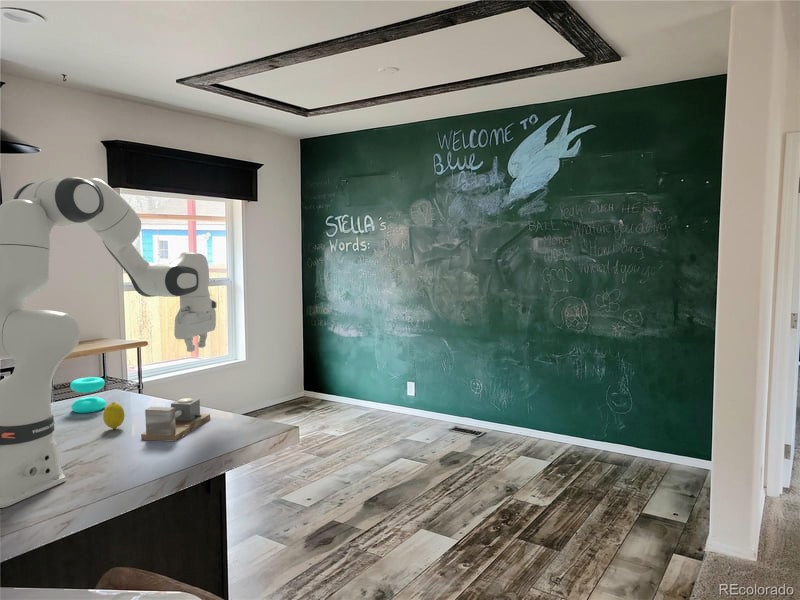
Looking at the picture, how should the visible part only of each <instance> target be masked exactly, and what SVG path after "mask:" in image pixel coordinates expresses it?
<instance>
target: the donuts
mask: <svg viewBox="0 0 800 600" xmlns="http://www.w3.org/2000/svg"><path fill="white" fill-rule="evenodd" d="M105 384H106V382H105V379H104V378H102V377H98V376H97V377H96V376H88V377H81V378H77V379H74V380H73V381H71V382H70V384H69V385H70V390H72V391H73V392H76V393H92V392H97V391H100V390H101V389H102V388H104V387H105ZM70 407H71V410H72V411H73V412H75V413H77V414H78V413H79V414H89V413H94V412H99V411H101V410H103V409H105V408H106V407H107V402H106V400H105V399H104V398H102V397H98V396H88V397H87V396H86V397H81V398H79V399H76V400H74V401H73V402H72V404H71V405H70Z"/></svg>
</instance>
